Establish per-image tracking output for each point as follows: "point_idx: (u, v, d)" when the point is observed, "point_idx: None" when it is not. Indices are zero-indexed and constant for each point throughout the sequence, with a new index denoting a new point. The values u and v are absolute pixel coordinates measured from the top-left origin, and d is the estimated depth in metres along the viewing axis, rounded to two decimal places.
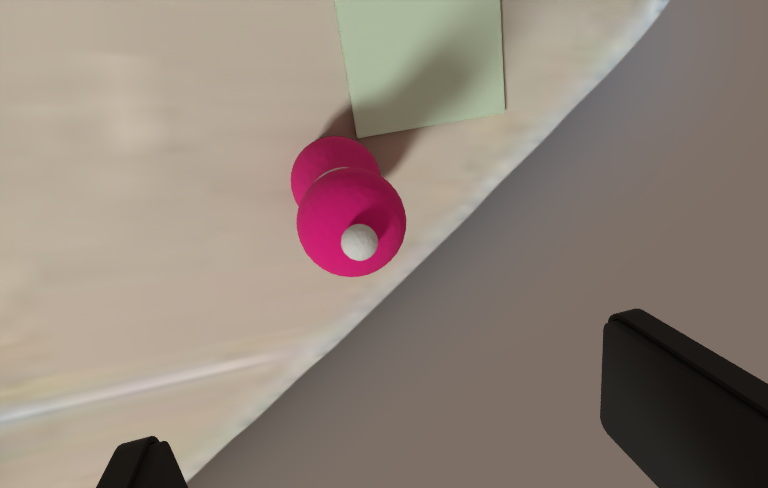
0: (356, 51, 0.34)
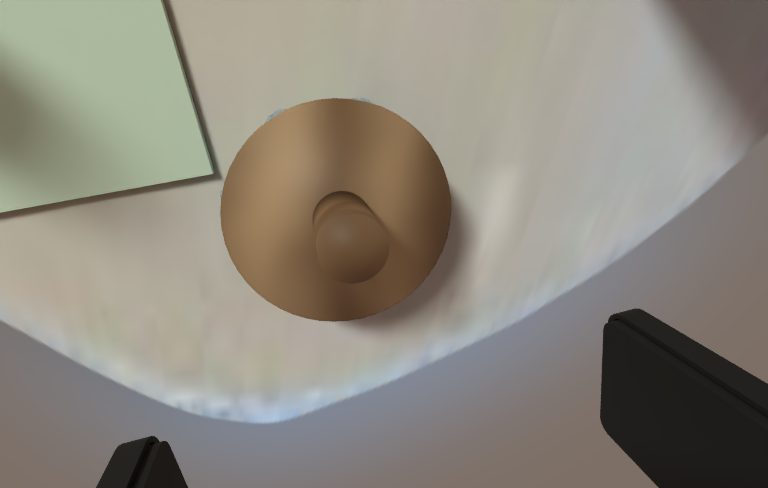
0: None
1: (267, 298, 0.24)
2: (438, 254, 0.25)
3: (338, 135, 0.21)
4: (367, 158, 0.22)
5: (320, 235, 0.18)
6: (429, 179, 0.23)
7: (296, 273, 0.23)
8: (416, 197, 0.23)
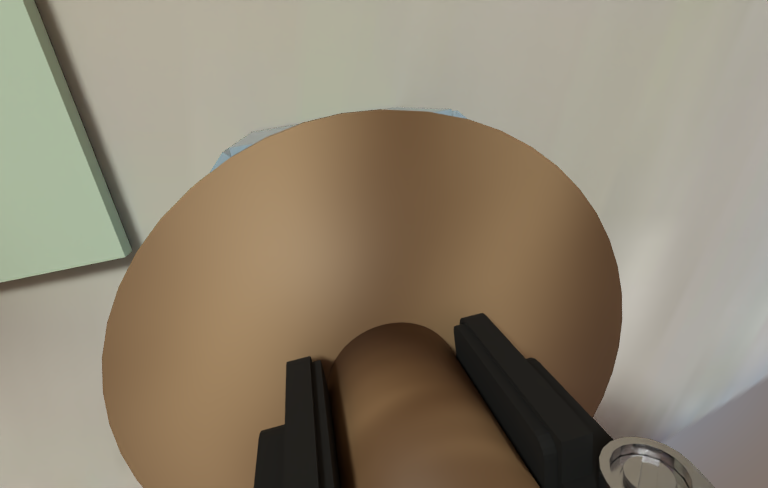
0: None
1: None
2: None
3: (393, 200, 0.09)
4: (457, 249, 0.09)
5: None
6: (585, 286, 0.10)
7: None
8: (554, 325, 0.11)
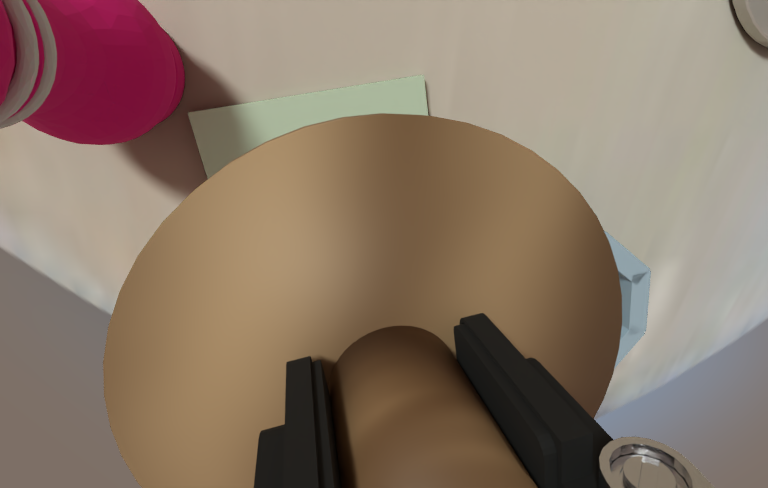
0: (312, 112, 0.25)
1: None
2: None
3: (393, 204, 0.09)
4: (457, 253, 0.09)
5: None
6: (585, 289, 0.10)
7: None
8: (554, 328, 0.11)
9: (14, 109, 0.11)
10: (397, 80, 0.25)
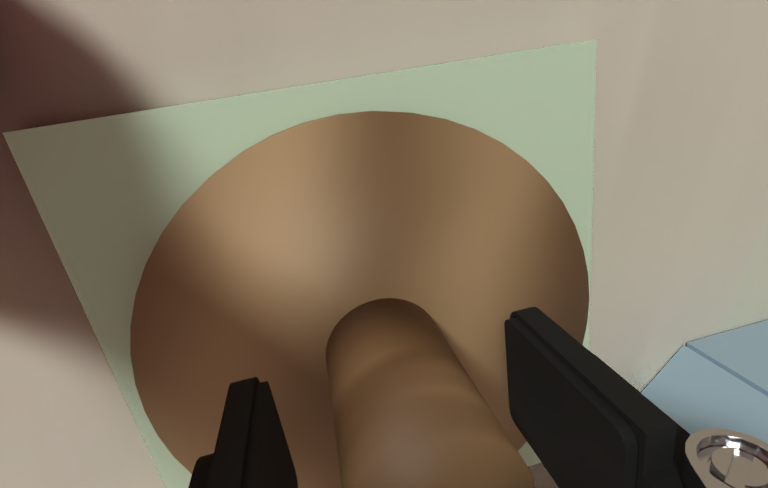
0: None
1: None
2: None
3: (382, 189, 0.10)
4: (439, 233, 0.11)
5: None
6: (554, 268, 0.12)
7: (293, 451, 0.12)
8: (528, 303, 0.12)
9: None
10: (536, 52, 0.11)
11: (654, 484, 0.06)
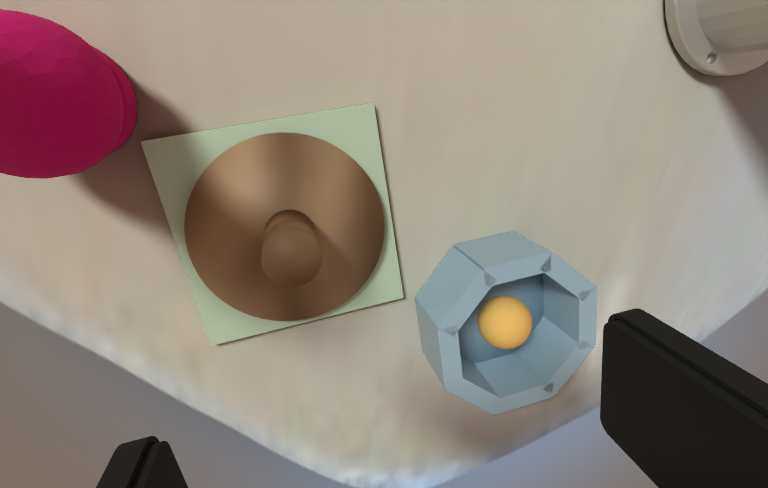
0: None
1: (226, 301, 0.27)
2: (375, 262, 0.29)
3: (284, 163, 0.26)
4: (310, 182, 0.26)
5: (263, 247, 0.22)
6: (364, 199, 0.27)
7: (251, 279, 0.27)
8: (354, 214, 0.28)
9: None
10: (348, 108, 0.26)
11: None
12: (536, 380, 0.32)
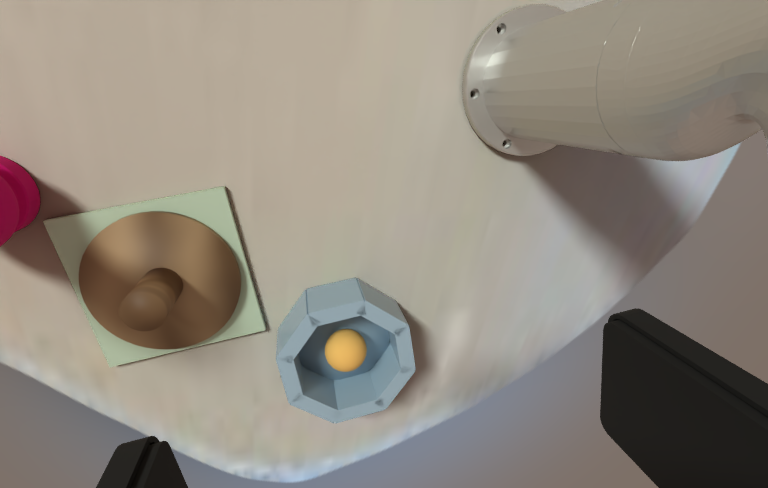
0: None
1: (116, 335, 0.36)
2: (235, 305, 0.37)
3: (153, 234, 0.34)
4: (175, 247, 0.35)
5: (120, 304, 0.31)
6: (221, 259, 0.36)
7: None
8: (213, 270, 0.36)
9: None
10: (203, 192, 0.35)
11: None
12: (371, 396, 0.40)
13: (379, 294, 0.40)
